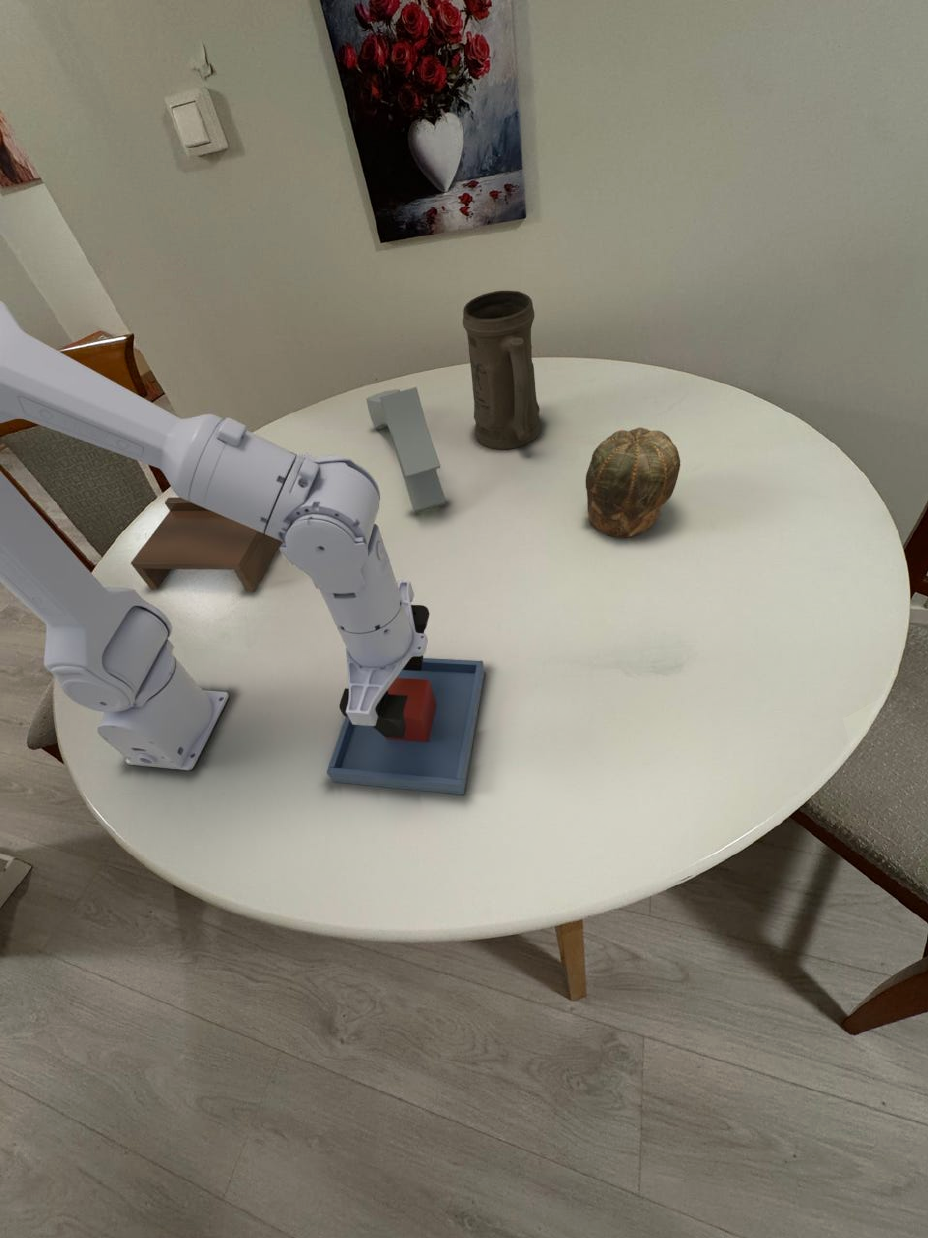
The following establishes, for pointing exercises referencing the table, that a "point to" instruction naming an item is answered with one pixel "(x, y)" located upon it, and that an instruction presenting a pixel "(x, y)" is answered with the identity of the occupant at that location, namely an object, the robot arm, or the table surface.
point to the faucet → (410, 444)
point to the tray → (414, 762)
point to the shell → (630, 481)
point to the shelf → (204, 546)
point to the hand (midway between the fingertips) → (403, 699)
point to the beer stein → (502, 368)
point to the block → (416, 707)
